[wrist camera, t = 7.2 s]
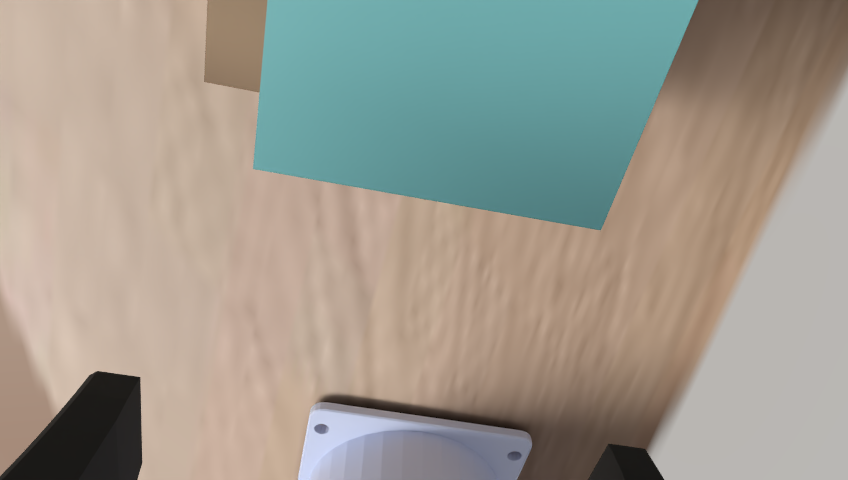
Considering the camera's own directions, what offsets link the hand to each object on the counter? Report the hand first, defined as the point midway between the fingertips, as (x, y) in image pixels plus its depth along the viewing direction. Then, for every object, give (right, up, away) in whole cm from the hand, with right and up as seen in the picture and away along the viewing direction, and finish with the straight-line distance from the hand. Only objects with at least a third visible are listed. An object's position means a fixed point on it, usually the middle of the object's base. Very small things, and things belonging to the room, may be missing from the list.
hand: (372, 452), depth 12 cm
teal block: (+1, +9, +2) cm, 10 cm away
